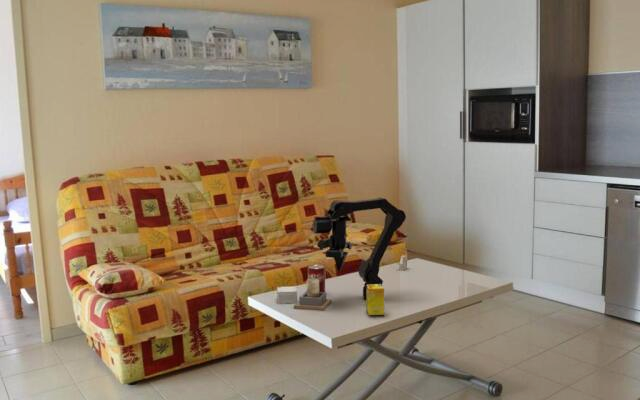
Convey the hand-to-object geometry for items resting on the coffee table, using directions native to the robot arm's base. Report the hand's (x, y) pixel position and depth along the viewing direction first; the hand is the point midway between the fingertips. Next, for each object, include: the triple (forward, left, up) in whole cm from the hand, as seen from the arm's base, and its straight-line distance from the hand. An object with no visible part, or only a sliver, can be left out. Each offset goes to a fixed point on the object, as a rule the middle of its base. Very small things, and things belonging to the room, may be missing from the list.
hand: (339, 270), depth 239 cm
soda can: (+12, -8, -13) cm, 20 cm away
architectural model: (-17, -59, -14) cm, 63 cm away
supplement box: (-17, +12, -13) cm, 25 cm away
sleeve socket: (+9, +7, -13) cm, 17 cm away
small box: (+21, +4, -13) cm, 25 cm away
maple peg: (+9, +7, -12) cm, 16 cm away
